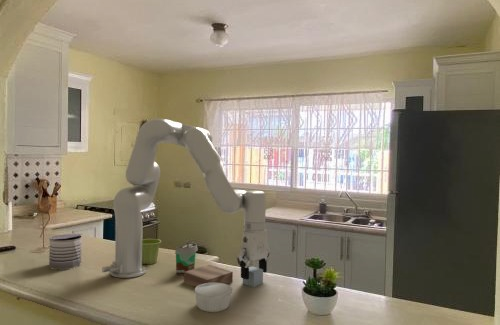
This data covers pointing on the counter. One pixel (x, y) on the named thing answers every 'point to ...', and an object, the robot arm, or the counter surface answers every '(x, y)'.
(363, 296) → the counter surface
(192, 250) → the food container
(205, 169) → the robot arm
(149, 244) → the plant pot
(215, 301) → the ramekin
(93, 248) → the counter surface
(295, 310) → the counter surface
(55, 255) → the can
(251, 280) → the slate block
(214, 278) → the walnut block
